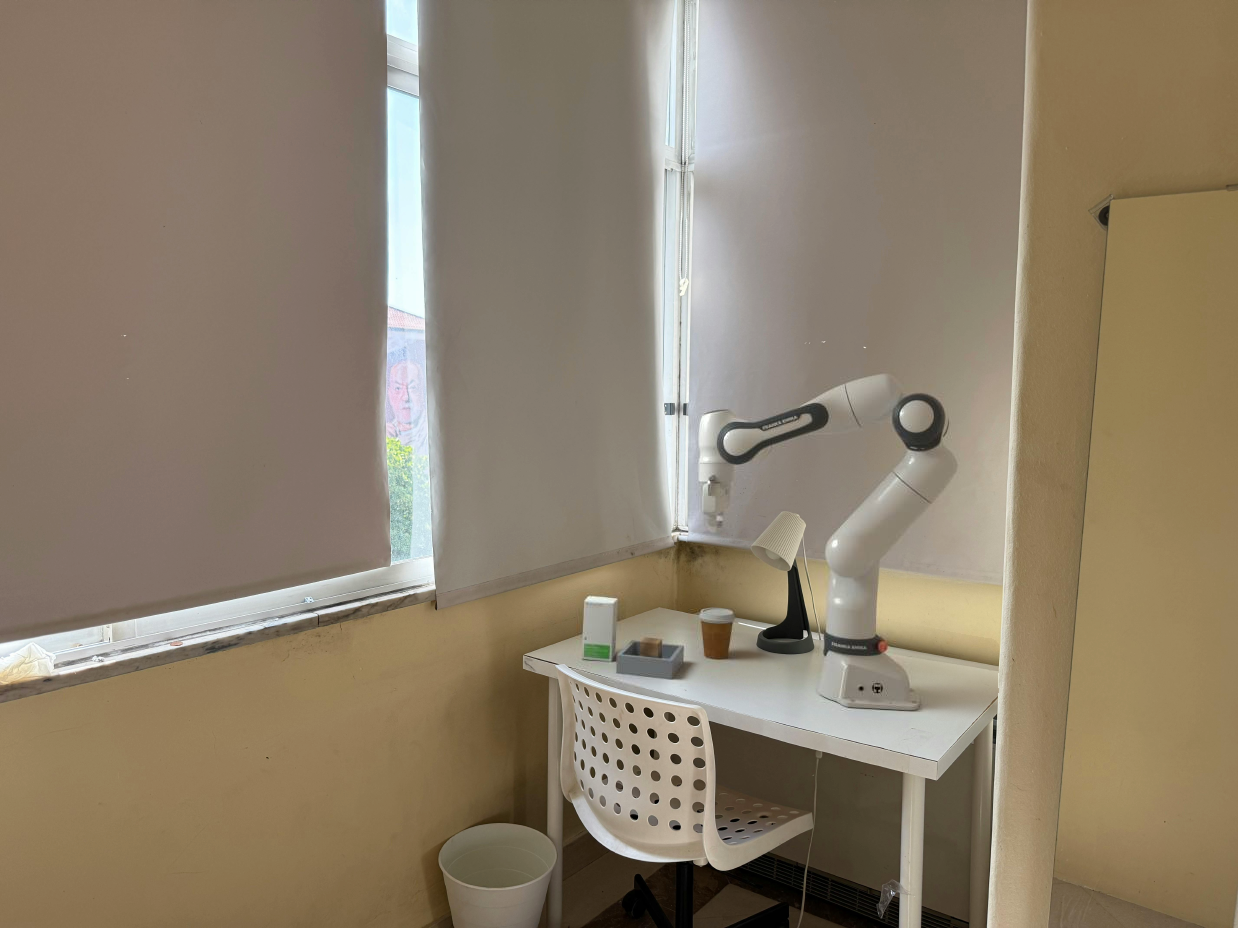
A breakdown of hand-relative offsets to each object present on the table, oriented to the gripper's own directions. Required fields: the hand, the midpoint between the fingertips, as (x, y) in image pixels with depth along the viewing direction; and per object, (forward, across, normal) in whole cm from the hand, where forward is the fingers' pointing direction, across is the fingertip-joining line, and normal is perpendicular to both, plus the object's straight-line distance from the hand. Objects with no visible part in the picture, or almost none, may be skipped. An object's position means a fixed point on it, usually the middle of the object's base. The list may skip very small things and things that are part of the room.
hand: (716, 529), depth 191 cm
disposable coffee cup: (+36, +12, +2) cm, 37 cm away
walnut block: (+34, -4, +16) cm, 38 cm away
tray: (+35, -4, +16) cm, 39 cm away
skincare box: (+35, 0, +31) cm, 47 cm away
